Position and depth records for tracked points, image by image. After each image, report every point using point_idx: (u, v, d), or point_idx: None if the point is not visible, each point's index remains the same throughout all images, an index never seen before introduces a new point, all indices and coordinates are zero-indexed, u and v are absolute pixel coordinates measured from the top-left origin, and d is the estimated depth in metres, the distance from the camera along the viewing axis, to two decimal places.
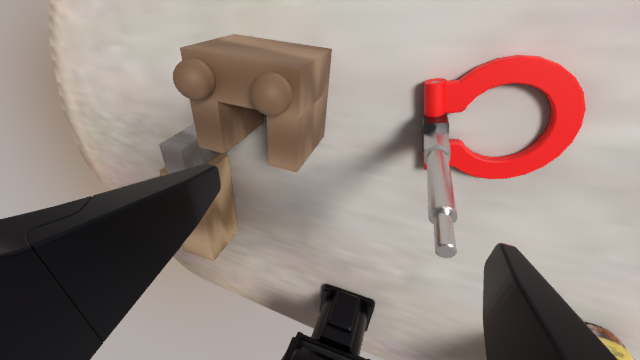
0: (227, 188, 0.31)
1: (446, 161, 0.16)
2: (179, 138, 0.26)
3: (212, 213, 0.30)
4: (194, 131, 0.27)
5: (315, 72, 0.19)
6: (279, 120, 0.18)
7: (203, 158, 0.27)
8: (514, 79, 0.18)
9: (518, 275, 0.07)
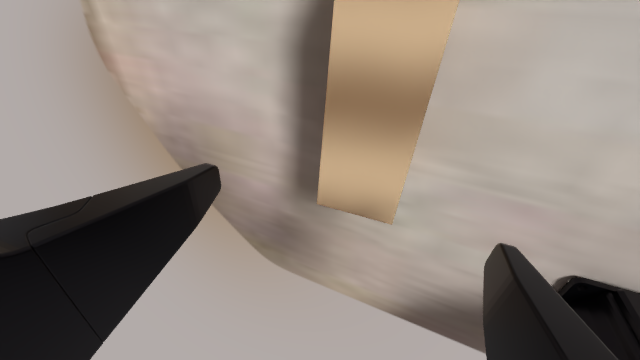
0: None
1: None
2: None
3: None
4: None
5: None
6: None
7: None
8: None
9: (518, 275, 0.07)
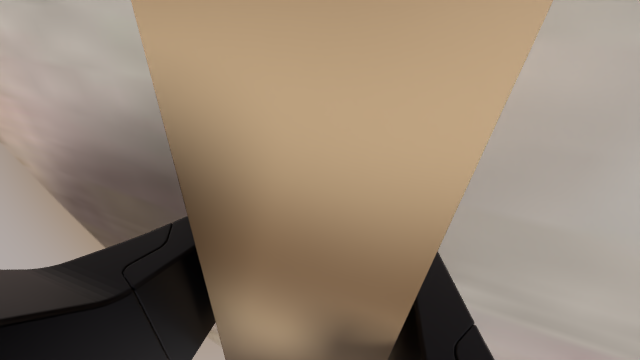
0: None
1: None
2: None
3: None
4: None
5: None
6: None
7: None
8: None
9: None
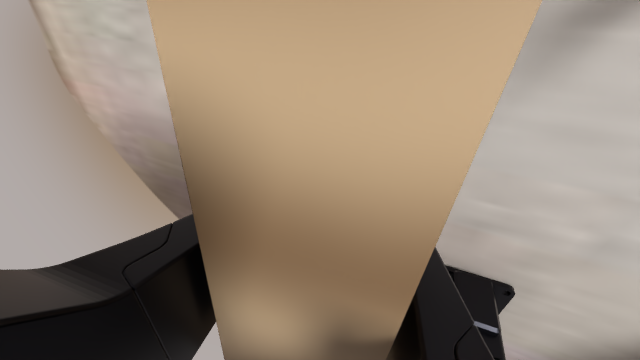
0: None
1: None
2: None
3: None
4: None
5: None
6: None
7: None
8: None
9: None
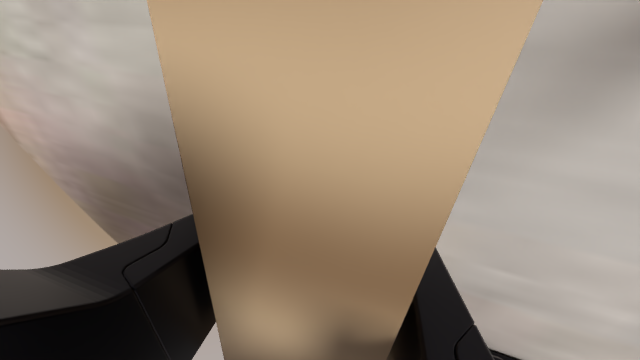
0: None
1: None
2: None
3: None
4: None
5: None
6: None
7: None
8: None
9: None
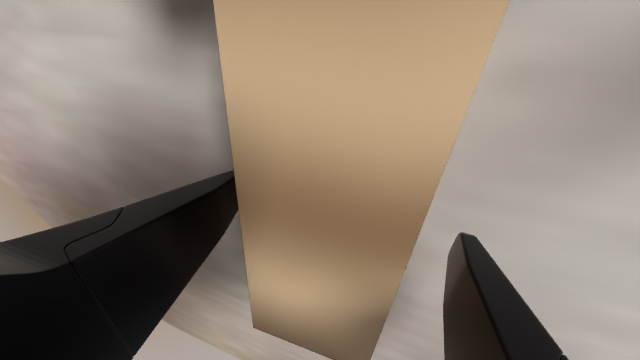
0: None
1: None
2: None
3: None
4: None
5: None
6: None
7: None
8: None
9: (472, 262, 0.07)
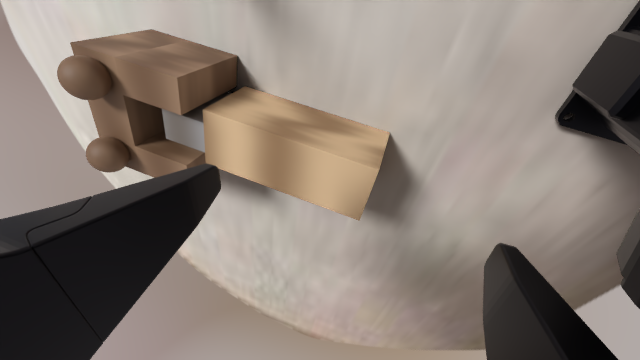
0: (286, 105, 0.20)
1: None
2: None
3: (285, 126, 0.18)
4: None
5: (123, 39, 0.18)
6: (125, 82, 0.17)
7: None
8: None
9: (518, 275, 0.07)
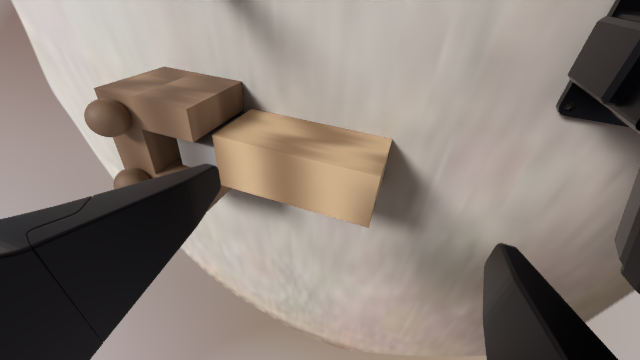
0: (290, 122, 0.21)
1: None
2: None
3: (289, 143, 0.19)
4: None
5: (139, 79, 0.20)
6: (143, 118, 0.18)
7: None
8: None
9: (518, 275, 0.07)
